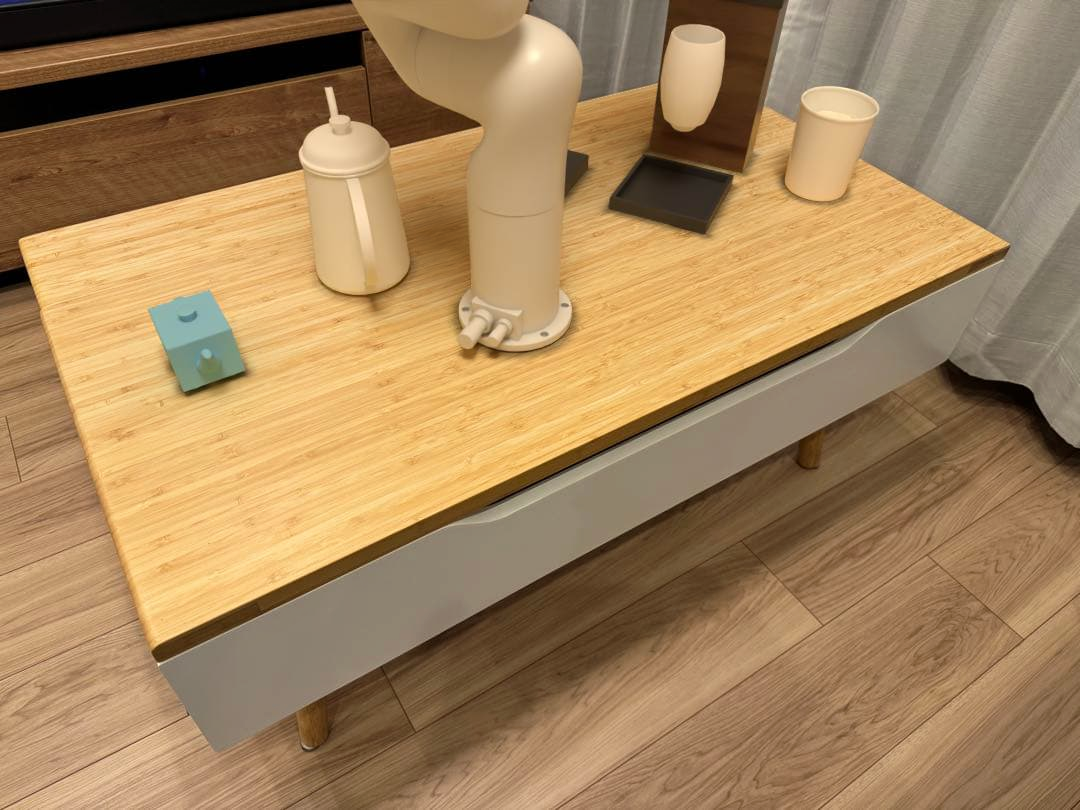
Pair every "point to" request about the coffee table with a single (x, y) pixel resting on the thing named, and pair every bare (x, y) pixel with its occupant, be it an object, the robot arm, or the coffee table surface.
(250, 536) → the coffee table surface
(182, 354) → the teal peg block
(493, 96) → the robot arm
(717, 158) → the column
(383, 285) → the coffeepot
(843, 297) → the coffee table surface
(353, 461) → the coffee table surface
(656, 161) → the drip pan
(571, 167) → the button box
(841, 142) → the cream open tapered cylinder
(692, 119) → the cream vase
